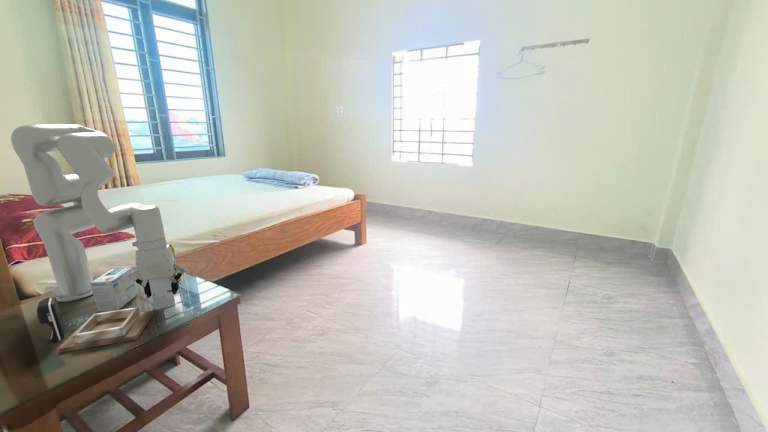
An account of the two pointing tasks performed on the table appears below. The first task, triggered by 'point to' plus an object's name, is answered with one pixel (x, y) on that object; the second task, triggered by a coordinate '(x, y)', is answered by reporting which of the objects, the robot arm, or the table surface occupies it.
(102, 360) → the table surface
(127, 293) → the light bulb box
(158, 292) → the skincare box
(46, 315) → the black hard case
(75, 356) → the table surface
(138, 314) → the holder
